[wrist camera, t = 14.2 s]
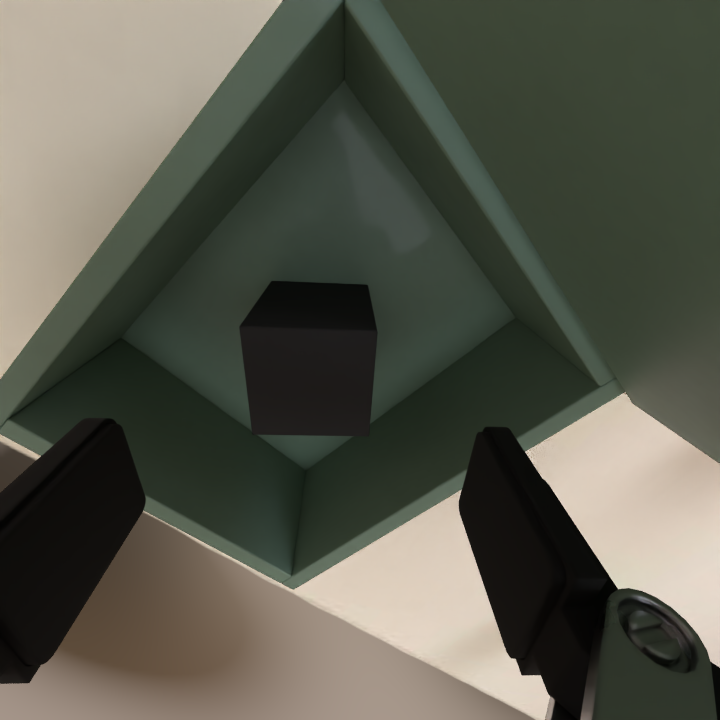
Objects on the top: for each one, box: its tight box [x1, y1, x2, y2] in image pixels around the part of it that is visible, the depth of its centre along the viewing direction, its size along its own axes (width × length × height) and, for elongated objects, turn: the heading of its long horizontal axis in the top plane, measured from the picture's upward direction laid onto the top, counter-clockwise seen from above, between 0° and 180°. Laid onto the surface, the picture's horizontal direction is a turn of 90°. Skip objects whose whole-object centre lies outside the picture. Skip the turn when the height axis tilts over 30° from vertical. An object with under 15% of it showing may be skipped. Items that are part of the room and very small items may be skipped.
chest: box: [0, 0, 625, 589], centre depth 15 cm, size 17×14×7 cm
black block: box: [239, 281, 378, 436], centre depth 15 cm, size 4×4×6 cm
